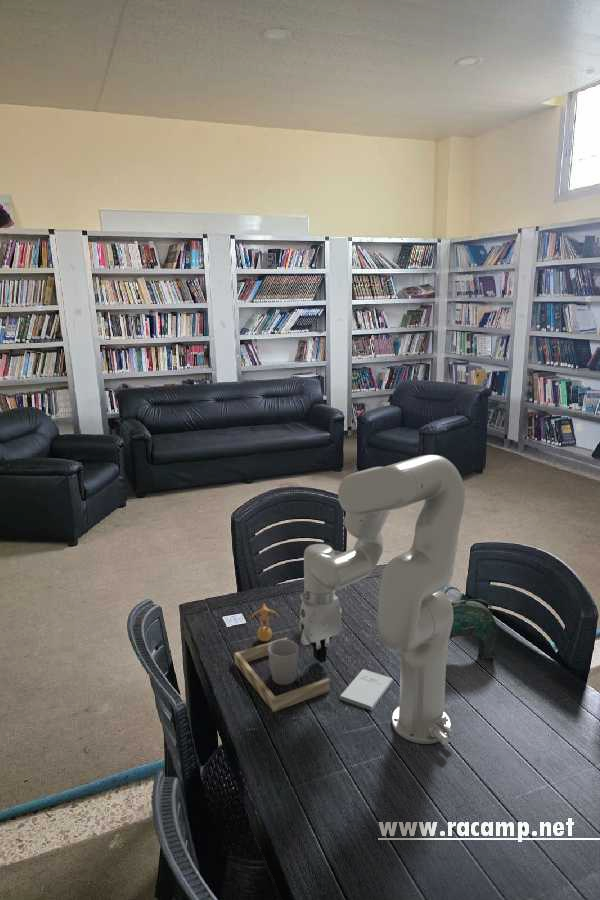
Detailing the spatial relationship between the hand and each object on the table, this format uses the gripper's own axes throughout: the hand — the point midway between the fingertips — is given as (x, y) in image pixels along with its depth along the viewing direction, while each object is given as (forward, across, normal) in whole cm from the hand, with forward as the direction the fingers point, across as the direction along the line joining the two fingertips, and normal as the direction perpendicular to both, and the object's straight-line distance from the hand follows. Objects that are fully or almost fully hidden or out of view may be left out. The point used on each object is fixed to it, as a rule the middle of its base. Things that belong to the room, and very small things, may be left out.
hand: (320, 659), depth 158 cm
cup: (+1, -10, 0) cm, 10 cm away
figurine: (+1, -8, +16) cm, 18 cm away
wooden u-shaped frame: (+1, -11, 0) cm, 11 cm away
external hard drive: (+2, +4, -15) cm, 16 cm away
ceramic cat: (+2, +32, -16) cm, 36 cm away
